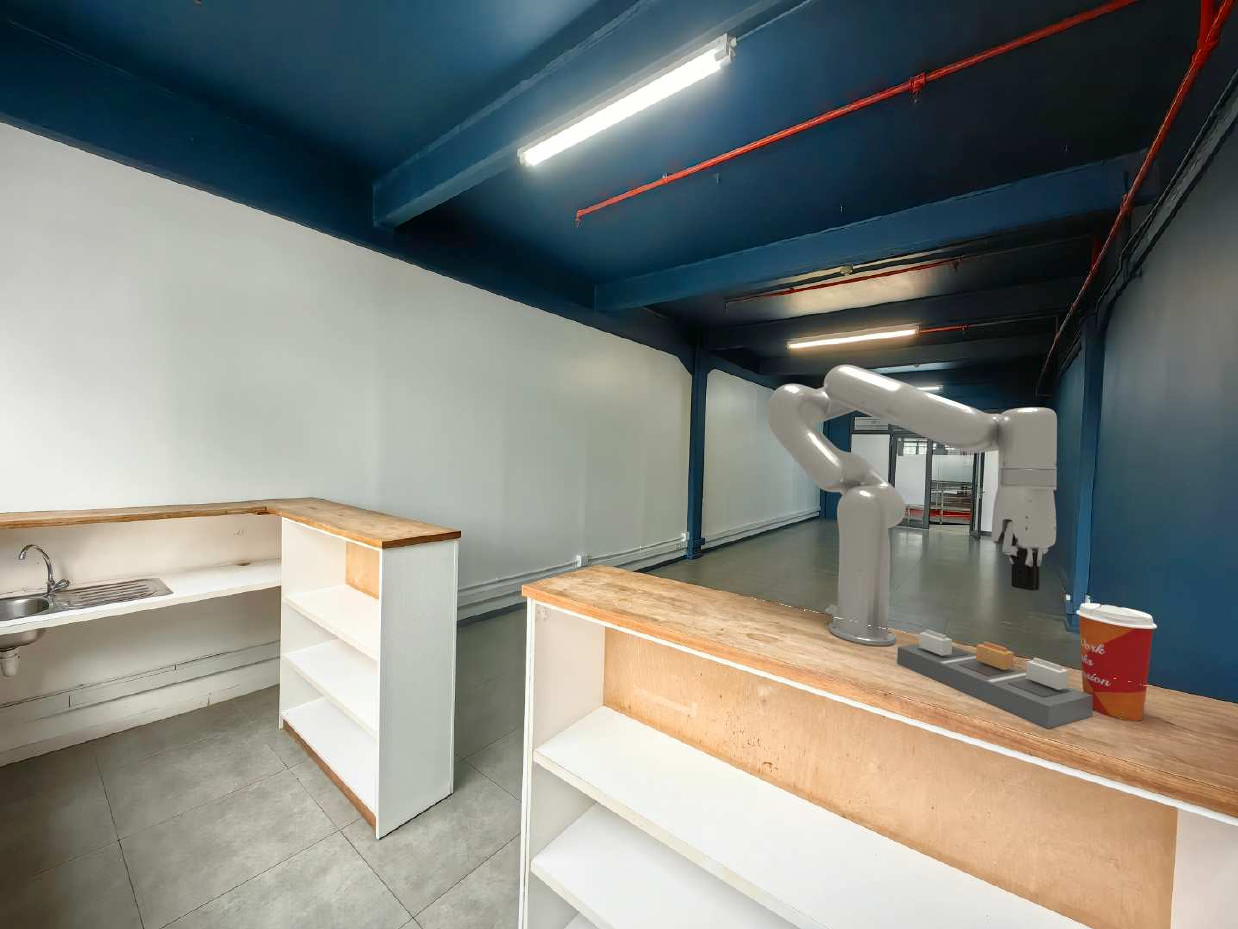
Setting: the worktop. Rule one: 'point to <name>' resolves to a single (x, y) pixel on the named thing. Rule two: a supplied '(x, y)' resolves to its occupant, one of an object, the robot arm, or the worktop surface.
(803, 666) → the worktop surface
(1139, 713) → the coffee cup
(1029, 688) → the switch panel
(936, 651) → the switch
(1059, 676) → the switch
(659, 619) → the worktop surface
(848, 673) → the worktop surface
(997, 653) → the switch
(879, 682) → the worktop surface
